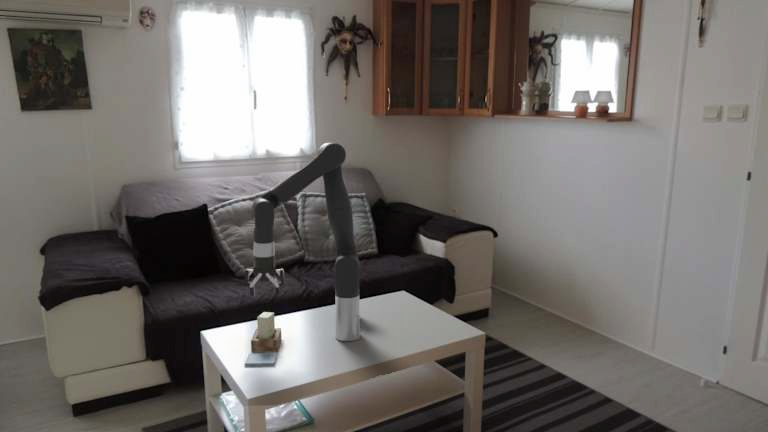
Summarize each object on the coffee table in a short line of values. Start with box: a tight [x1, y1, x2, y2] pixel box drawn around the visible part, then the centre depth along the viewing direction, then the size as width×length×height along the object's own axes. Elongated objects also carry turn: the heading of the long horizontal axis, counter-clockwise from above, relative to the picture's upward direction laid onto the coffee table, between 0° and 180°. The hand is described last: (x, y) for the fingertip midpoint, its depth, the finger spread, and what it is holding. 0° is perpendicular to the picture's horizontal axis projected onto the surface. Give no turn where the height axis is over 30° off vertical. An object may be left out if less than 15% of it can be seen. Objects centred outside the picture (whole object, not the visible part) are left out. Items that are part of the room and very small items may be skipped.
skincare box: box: [256, 311, 276, 339], centre depth 208 cm, size 6×4×12 cm
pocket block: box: [250, 327, 282, 353], centre depth 209 cm, size 9×11×4 cm
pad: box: [244, 352, 278, 367], centre depth 196 cm, size 10×8×1 cm
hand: (265, 296), depth 206 cm, fingers open, 8 cm apart
